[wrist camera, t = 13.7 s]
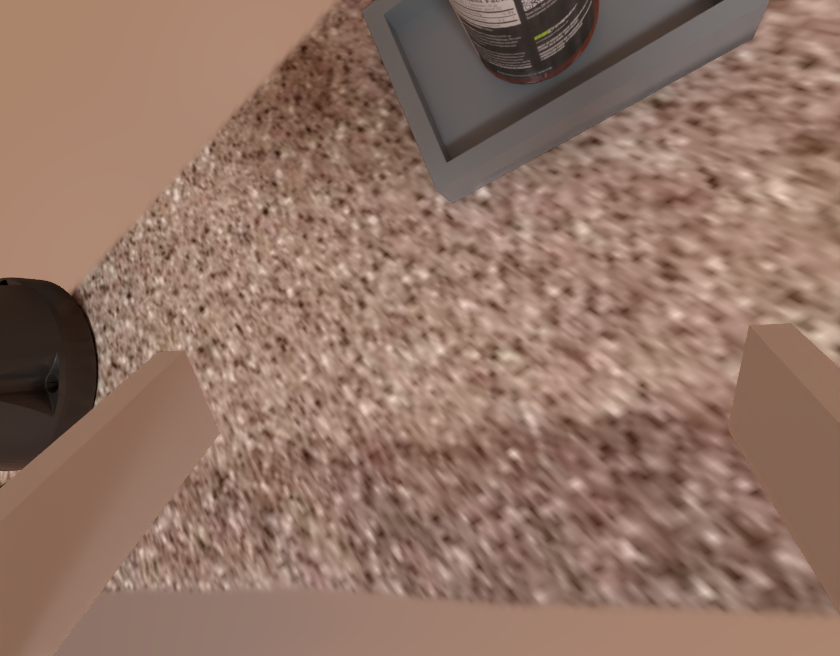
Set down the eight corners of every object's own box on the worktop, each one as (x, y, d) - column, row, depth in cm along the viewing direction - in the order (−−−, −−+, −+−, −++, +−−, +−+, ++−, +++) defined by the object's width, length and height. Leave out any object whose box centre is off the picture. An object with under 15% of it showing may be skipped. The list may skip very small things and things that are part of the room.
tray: (452, 203, 26) (436, 190, 24) (382, 37, 28) (361, 10, 26) (752, 38, 21) (769, 1, 19) (643, -153, 23) (646, -207, 21)
